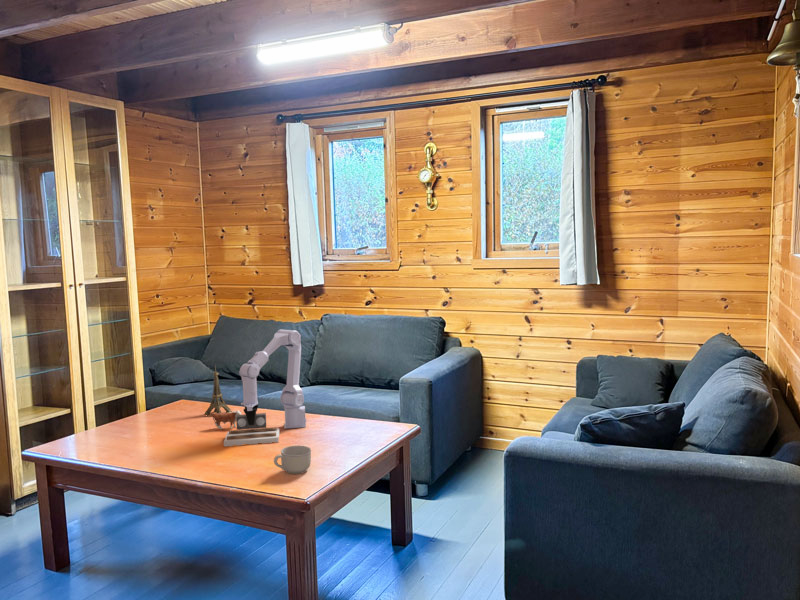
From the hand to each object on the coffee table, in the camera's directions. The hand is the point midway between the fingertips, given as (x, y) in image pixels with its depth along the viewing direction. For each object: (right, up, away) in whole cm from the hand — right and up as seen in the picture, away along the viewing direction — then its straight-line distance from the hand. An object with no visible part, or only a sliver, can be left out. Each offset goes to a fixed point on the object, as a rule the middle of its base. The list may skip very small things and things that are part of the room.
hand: (251, 423), depth 265 cm
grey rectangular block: (0, -2, 0) cm, 2 cm away
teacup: (+24, -10, -41) cm, 49 cm away
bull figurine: (-15, -6, +19) cm, 25 cm away
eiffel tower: (-27, -5, +46) cm, 53 cm away
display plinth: (0, -7, +1) cm, 7 cm away
